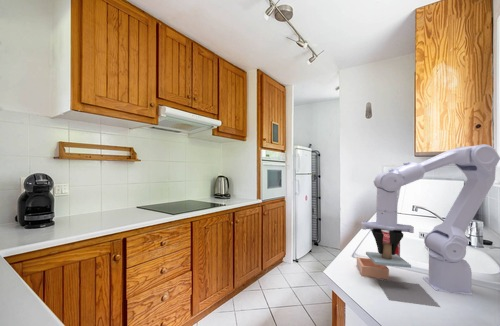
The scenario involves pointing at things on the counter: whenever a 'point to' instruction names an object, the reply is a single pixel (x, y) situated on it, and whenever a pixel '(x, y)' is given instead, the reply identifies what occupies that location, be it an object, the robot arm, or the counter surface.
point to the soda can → (387, 240)
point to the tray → (372, 268)
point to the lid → (387, 257)
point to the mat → (406, 292)
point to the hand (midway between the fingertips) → (386, 253)
